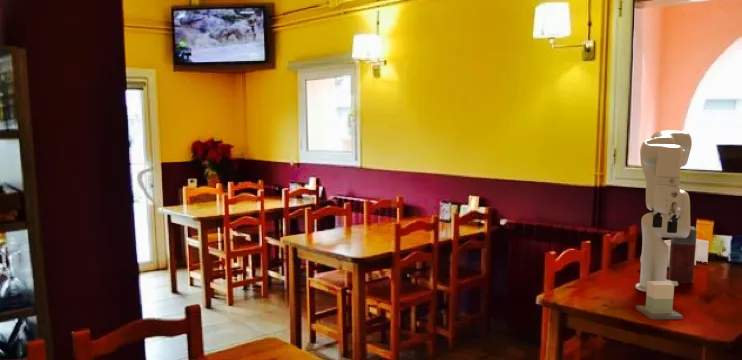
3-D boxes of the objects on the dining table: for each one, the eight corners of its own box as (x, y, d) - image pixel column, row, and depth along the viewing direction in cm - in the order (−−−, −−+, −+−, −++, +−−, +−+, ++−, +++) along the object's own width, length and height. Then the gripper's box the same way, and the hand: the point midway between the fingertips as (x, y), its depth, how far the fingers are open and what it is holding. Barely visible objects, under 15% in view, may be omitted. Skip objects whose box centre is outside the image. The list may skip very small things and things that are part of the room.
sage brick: (664, 308, 209) (665, 294, 209) (672, 312, 205) (673, 298, 204) (645, 307, 209) (646, 294, 209) (652, 312, 204) (653, 298, 204)
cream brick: (665, 294, 209) (666, 280, 209) (673, 298, 204) (674, 284, 204) (646, 294, 209) (647, 280, 208) (653, 298, 204) (654, 284, 203)
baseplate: (665, 308, 213) (665, 305, 213) (682, 319, 202) (682, 315, 202) (636, 308, 212) (636, 305, 212) (651, 319, 201) (651, 315, 201)
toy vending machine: (691, 277, 255) (695, 215, 253) (693, 284, 245) (697, 218, 242) (668, 275, 259) (672, 213, 256) (669, 281, 249) (673, 217, 246)
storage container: (685, 258, 293) (686, 237, 292) (707, 263, 283) (708, 241, 282) (655, 264, 280) (656, 242, 279) (677, 269, 271) (678, 246, 269)
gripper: (692, 184, 194) (688, 235, 195) (664, 179, 211) (661, 225, 213) (670, 184, 193) (666, 234, 195) (644, 178, 211) (641, 225, 212)
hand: (664, 230), depth 204 cm, fingers open, 9 cm apart
